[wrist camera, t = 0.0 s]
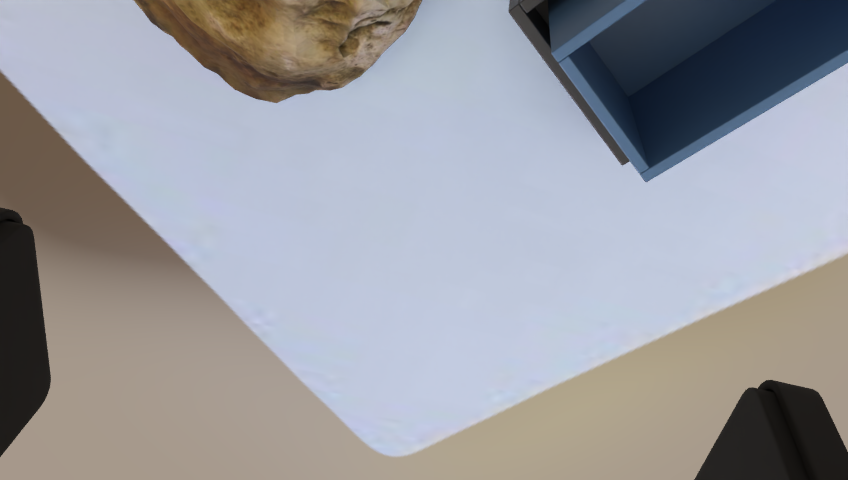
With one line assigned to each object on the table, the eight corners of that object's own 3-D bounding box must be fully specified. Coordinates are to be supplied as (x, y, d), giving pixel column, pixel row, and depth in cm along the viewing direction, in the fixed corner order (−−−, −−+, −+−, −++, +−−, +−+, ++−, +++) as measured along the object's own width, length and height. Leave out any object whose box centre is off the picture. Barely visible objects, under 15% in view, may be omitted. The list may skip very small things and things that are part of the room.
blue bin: (780, -178, 32) (859, -169, 24) (852, -43, 34) (945, 5, 26) (546, -2, 37) (550, 53, 29) (623, 106, 39) (646, 183, 31)
